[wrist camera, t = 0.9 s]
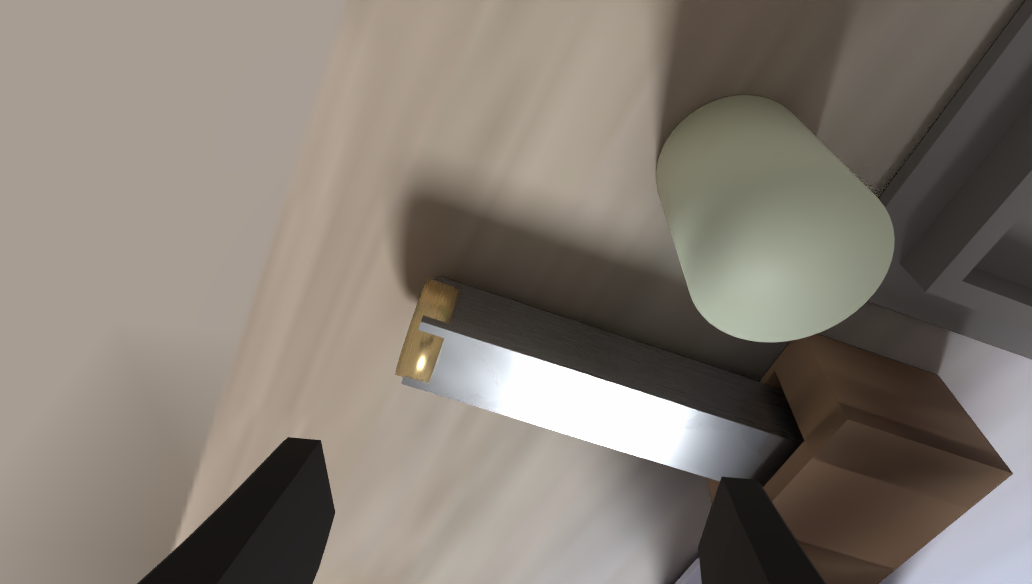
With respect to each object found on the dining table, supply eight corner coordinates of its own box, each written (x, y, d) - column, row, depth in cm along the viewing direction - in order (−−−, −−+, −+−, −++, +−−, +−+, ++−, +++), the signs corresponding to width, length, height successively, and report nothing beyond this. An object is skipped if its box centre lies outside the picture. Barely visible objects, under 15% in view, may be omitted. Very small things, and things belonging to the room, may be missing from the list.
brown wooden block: (938, 375, 20) (1012, 473, 16) (821, 494, 23) (862, 595, 20) (800, 328, 19) (847, 419, 16) (701, 457, 22) (723, 554, 19)
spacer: (840, 123, 16) (940, 210, 11) (759, 250, 18) (819, 362, 14) (697, 73, 15) (748, 144, 11) (632, 210, 17) (654, 312, 13)
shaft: (834, 392, 20) (871, 464, 17) (783, 451, 22) (810, 524, 19) (434, 259, 18) (411, 316, 16) (411, 333, 20) (388, 395, 18)
